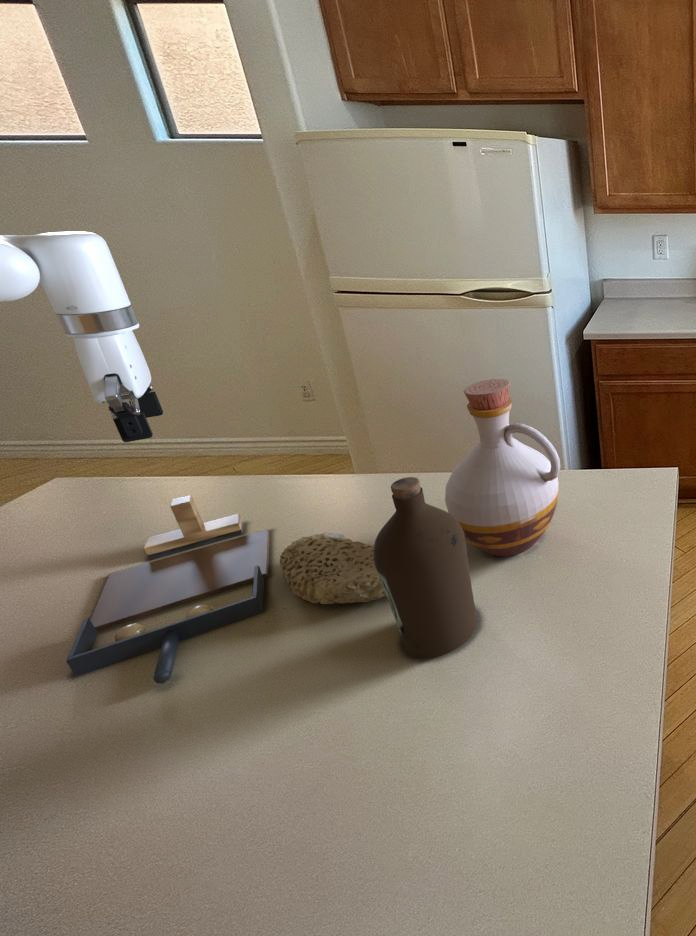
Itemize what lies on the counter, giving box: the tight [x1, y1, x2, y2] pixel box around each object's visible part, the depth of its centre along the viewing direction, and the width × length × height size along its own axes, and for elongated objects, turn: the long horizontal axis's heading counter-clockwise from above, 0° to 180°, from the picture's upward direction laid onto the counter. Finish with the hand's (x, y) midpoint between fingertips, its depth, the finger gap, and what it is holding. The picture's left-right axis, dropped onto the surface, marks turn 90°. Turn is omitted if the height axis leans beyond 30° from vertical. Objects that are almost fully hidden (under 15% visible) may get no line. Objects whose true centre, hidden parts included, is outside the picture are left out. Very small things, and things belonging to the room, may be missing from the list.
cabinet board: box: [90, 528, 271, 632], centre depth 87 cm, size 20×14×1 cm
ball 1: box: [114, 623, 148, 643], centre depth 75 cm, size 3×3×3 cm
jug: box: [444, 378, 561, 557], centre depth 91 cm, size 20×18×30 cm
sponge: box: [279, 532, 387, 605], centre depth 86 cm, size 13×8×20 cm
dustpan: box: [65, 565, 265, 684], centre depth 75 cm, size 17×19×3 cm
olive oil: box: [373, 476, 478, 659], centre depth 73 cm, size 11×11×25 cm
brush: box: [143, 494, 245, 561], centre depth 94 cm, size 12×4×9 cm, turn 126°
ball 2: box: [185, 604, 215, 619], centre depth 78 cm, size 3×3×3 cm
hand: (144, 427), depth 86 cm, fingers open, 9 cm apart
